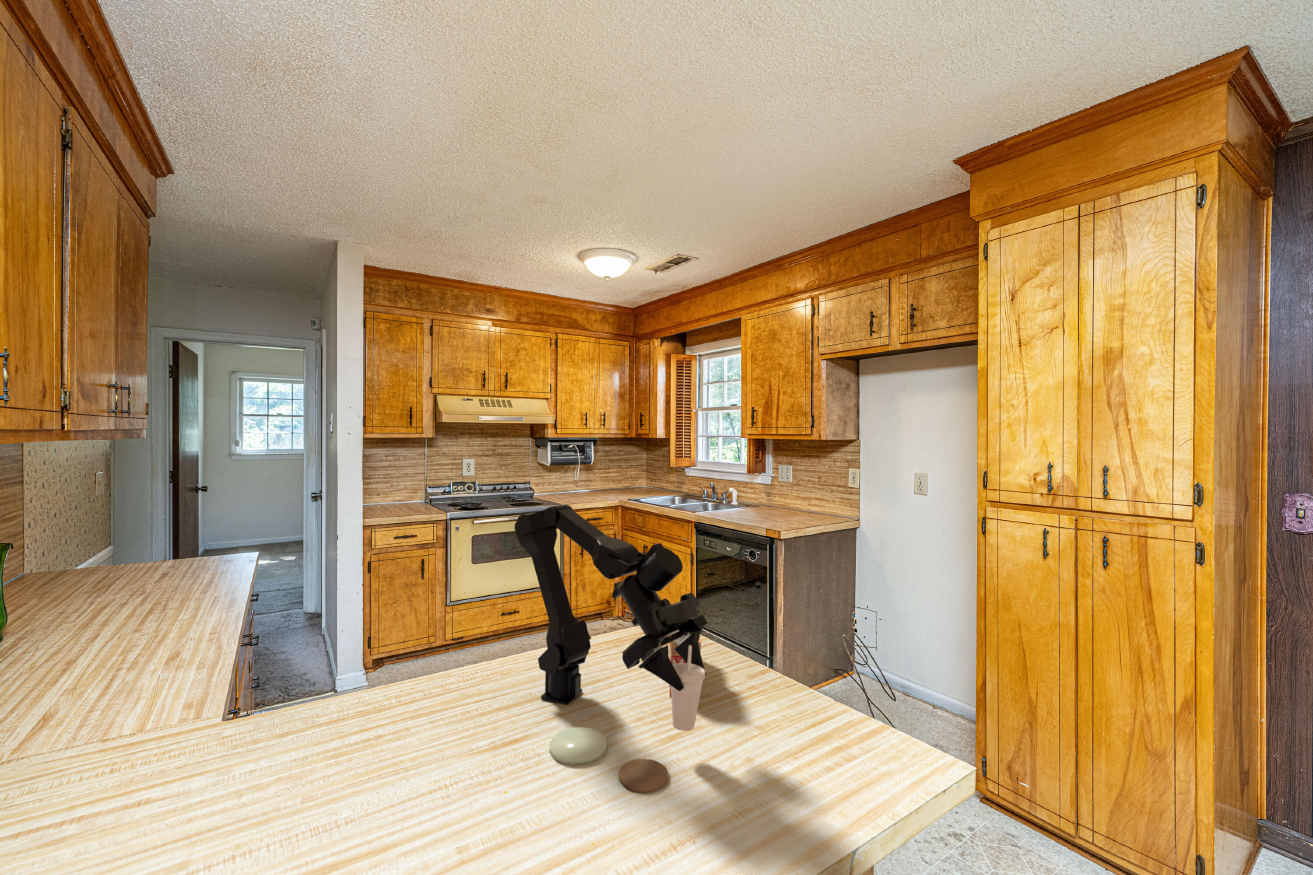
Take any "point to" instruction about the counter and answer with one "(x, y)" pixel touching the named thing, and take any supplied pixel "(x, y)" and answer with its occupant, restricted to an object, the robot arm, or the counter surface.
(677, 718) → the smoothie
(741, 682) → the counter surface
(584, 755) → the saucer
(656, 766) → the disc
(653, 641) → the robot arm
